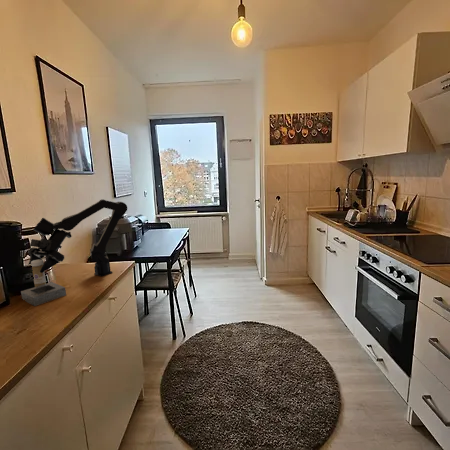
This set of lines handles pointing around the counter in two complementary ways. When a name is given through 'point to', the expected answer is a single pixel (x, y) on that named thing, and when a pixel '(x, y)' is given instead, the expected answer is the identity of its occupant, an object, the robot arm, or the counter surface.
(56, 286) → the block
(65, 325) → the counter surface
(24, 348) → the counter surface
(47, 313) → the counter surface
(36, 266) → the sprinkles bottle
